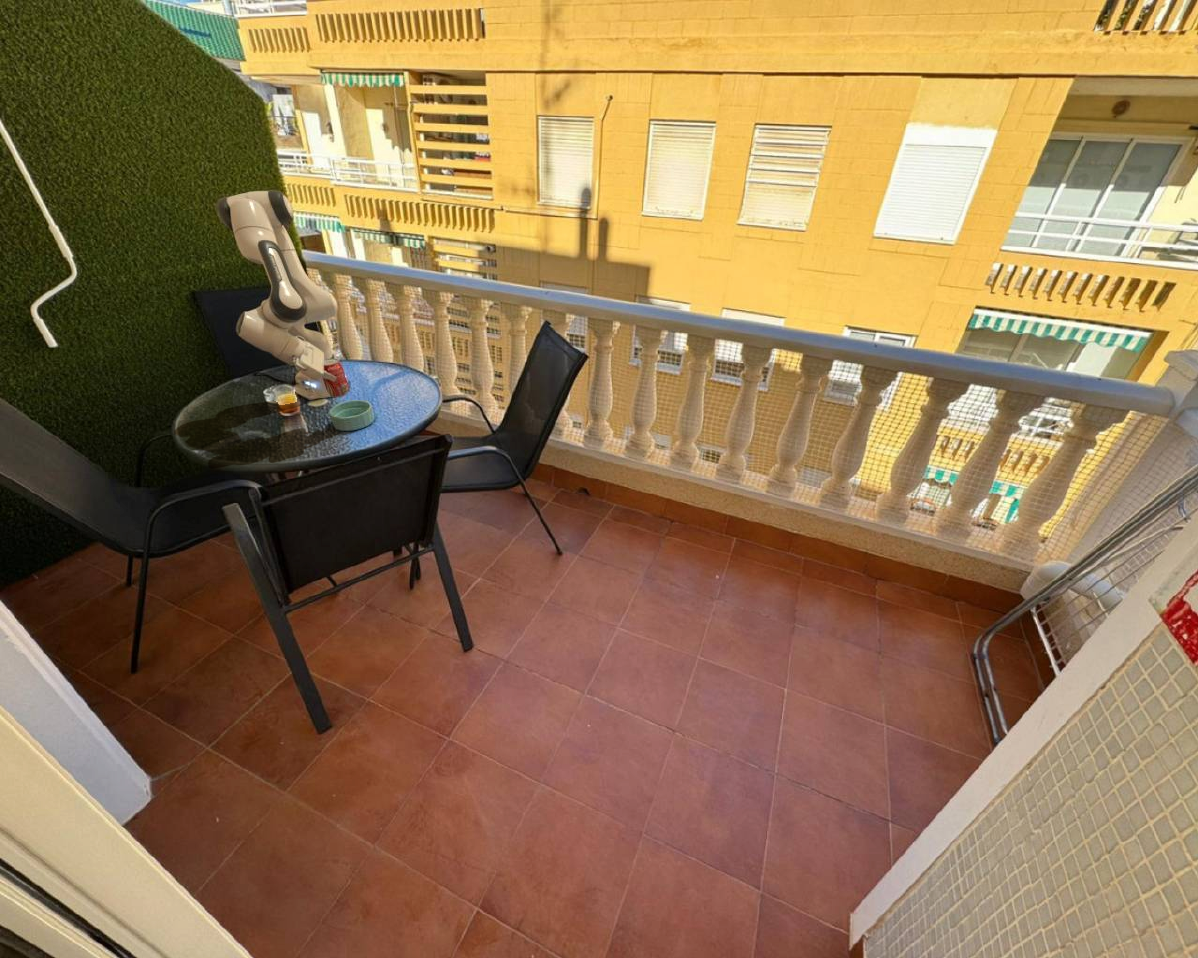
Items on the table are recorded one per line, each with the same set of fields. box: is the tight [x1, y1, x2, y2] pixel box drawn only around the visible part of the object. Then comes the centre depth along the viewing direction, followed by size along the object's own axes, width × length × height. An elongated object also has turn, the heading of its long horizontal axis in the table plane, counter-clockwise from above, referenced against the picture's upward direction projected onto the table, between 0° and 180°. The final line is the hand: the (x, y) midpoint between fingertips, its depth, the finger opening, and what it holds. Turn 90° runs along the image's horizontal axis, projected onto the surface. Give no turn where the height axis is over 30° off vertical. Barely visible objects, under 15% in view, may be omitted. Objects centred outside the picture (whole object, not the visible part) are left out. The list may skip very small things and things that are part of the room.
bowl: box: [328, 399, 376, 432], centre depth 182 cm, size 14×14×6 cm
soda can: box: [323, 357, 350, 398], centre depth 171 cm, size 7×7×12 cm
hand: (335, 374), depth 171 cm, fingers closed on soda can, 7 cm apart
